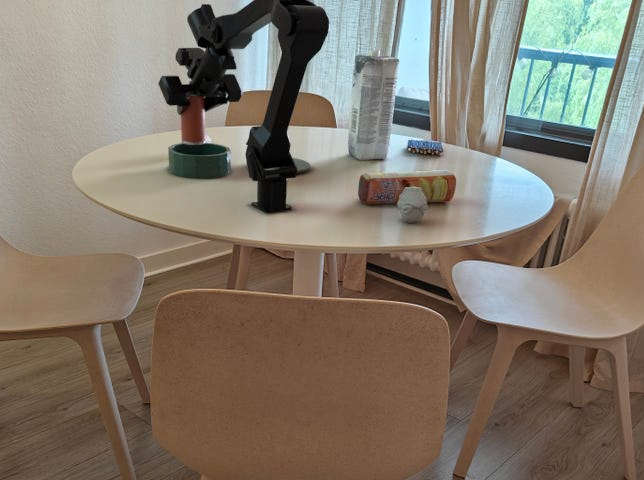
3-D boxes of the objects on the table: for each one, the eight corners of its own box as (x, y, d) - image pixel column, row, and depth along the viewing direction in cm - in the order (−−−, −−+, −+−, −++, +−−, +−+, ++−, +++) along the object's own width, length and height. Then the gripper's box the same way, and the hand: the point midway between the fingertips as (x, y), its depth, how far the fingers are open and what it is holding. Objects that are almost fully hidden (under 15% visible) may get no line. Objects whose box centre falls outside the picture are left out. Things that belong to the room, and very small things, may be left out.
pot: (241, 174, 157) (241, 153, 154) (185, 181, 149) (184, 158, 147) (212, 161, 167) (212, 140, 164) (159, 166, 159) (158, 144, 157)
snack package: (365, 207, 139) (368, 176, 135) (355, 198, 144) (358, 168, 141) (454, 204, 144) (459, 174, 141) (441, 196, 150) (446, 166, 146)
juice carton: (391, 159, 179) (404, 53, 166) (357, 161, 176) (367, 52, 162) (376, 152, 186) (387, 49, 173) (343, 153, 183) (352, 48, 169)
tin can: (205, 145, 152) (204, 88, 146) (181, 144, 151) (178, 87, 145) (205, 140, 157) (204, 85, 150) (181, 139, 156) (179, 84, 150)
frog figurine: (419, 216, 135) (423, 183, 132) (429, 227, 129) (435, 192, 126) (391, 216, 134) (395, 182, 131) (400, 227, 128) (405, 192, 125)
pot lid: (322, 172, 163) (324, 147, 160) (269, 178, 155) (270, 152, 152) (288, 158, 174) (289, 134, 171) (237, 163, 166) (237, 139, 163)
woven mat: (443, 155, 186) (444, 148, 185) (406, 152, 188) (407, 145, 187) (442, 148, 195) (443, 141, 194) (407, 145, 197) (407, 138, 196)
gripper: (235, 35, 145) (211, 81, 158) (159, 34, 134) (140, 84, 147) (254, 77, 143) (228, 121, 156) (179, 80, 133) (158, 126, 146)
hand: (189, 112), depth 151 cm, fingers closed on tin can, 5 cm apart
